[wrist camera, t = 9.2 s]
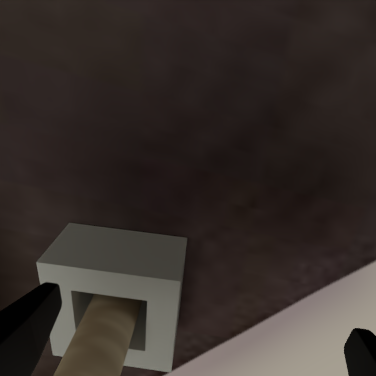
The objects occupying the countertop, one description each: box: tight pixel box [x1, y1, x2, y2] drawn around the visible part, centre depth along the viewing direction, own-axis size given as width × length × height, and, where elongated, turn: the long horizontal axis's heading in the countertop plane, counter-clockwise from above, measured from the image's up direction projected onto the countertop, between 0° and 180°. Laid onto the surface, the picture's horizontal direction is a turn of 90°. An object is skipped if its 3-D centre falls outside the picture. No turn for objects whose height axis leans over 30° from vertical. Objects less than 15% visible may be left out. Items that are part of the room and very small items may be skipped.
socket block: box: [36, 223, 187, 372], centre depth 22 cm, size 9×9×4 cm
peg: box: [54, 294, 142, 376], centre depth 20 cm, size 4×4×9 cm
